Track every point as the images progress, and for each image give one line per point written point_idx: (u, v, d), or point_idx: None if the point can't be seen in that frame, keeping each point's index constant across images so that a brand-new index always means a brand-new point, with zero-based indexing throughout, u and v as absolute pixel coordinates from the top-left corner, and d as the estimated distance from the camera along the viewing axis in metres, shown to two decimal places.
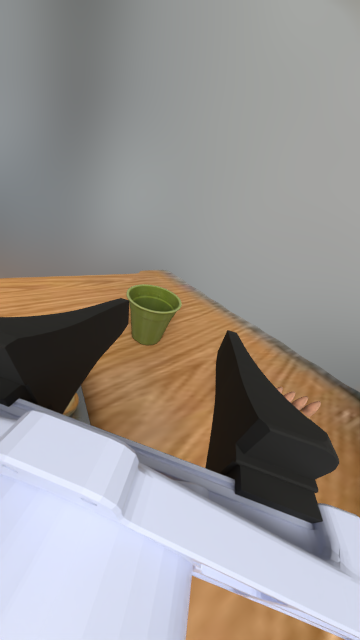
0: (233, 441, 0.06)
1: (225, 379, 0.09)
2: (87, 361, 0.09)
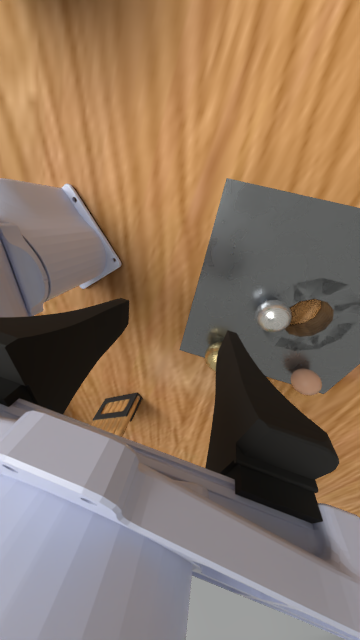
0: (233, 441, 0.06)
1: (225, 379, 0.09)
2: (87, 361, 0.09)
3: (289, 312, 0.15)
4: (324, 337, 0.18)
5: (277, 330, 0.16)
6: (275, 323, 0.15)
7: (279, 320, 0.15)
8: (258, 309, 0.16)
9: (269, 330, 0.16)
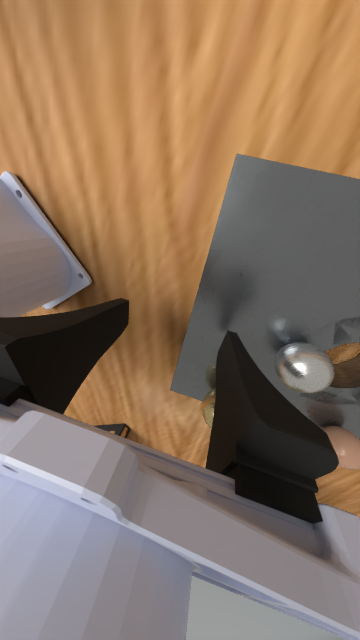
0: (233, 441, 0.06)
1: (225, 379, 0.09)
2: (87, 361, 0.09)
3: (332, 368, 0.10)
4: None
5: (311, 392, 0.10)
6: (309, 385, 0.10)
7: (317, 382, 0.10)
8: (280, 357, 0.11)
9: (298, 390, 0.11)
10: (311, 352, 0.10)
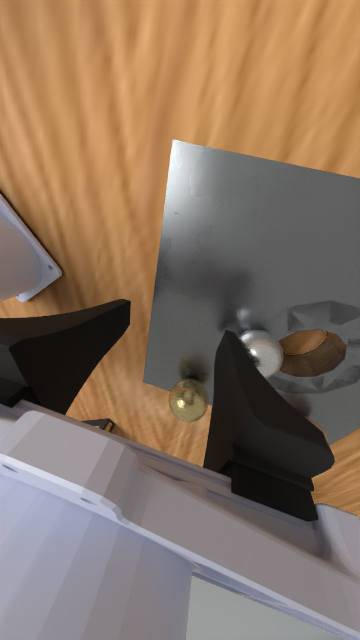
0: (230, 440, 0.06)
1: (223, 378, 0.09)
2: (89, 362, 0.09)
3: (279, 353, 0.10)
4: (332, 379, 0.13)
5: None
6: None
7: (263, 366, 0.10)
8: None
9: None
10: (260, 338, 0.10)
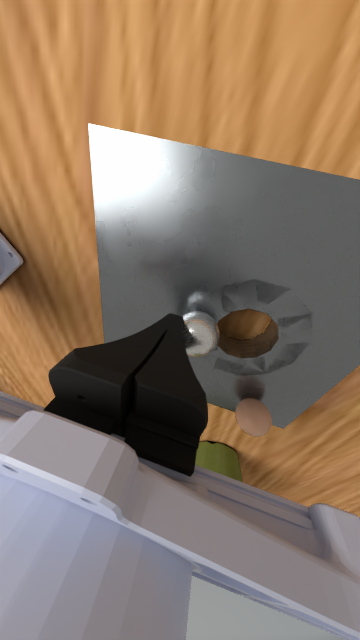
0: None
1: None
2: None
3: (213, 329, 0.11)
4: (272, 359, 0.13)
5: (202, 355, 0.11)
6: (196, 348, 0.10)
7: (201, 344, 0.10)
8: None
9: (192, 356, 0.11)
10: (195, 318, 0.11)
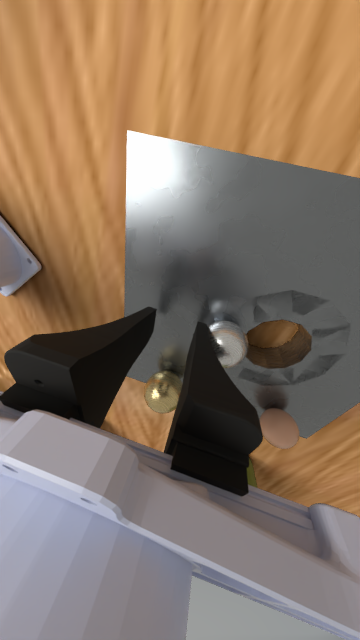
0: (176, 421, 0.06)
1: (188, 367, 0.09)
2: (122, 372, 0.09)
3: (242, 342, 0.10)
4: (302, 370, 0.13)
5: (227, 367, 0.11)
6: (221, 359, 0.10)
7: (227, 355, 0.10)
8: None
9: None
10: (224, 328, 0.10)
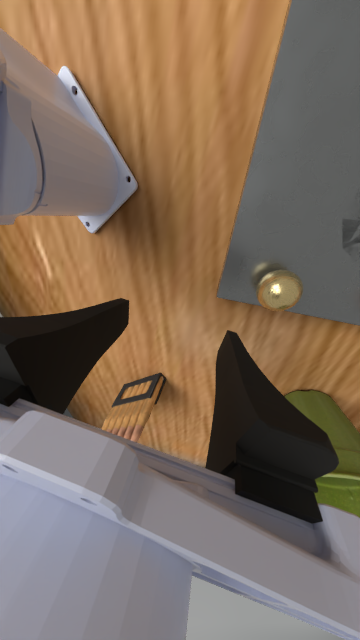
0: (233, 441, 0.06)
1: (225, 379, 0.09)
2: (87, 361, 0.09)
3: None
4: None
5: None
6: None
7: None
8: None
9: None
10: None
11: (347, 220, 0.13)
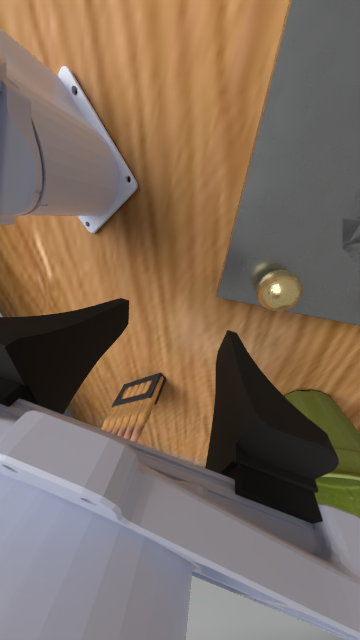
0: (233, 441, 0.06)
1: (225, 379, 0.09)
2: (87, 361, 0.09)
3: None
4: None
5: None
6: None
7: None
8: None
9: None
10: None
11: (347, 220, 0.13)
